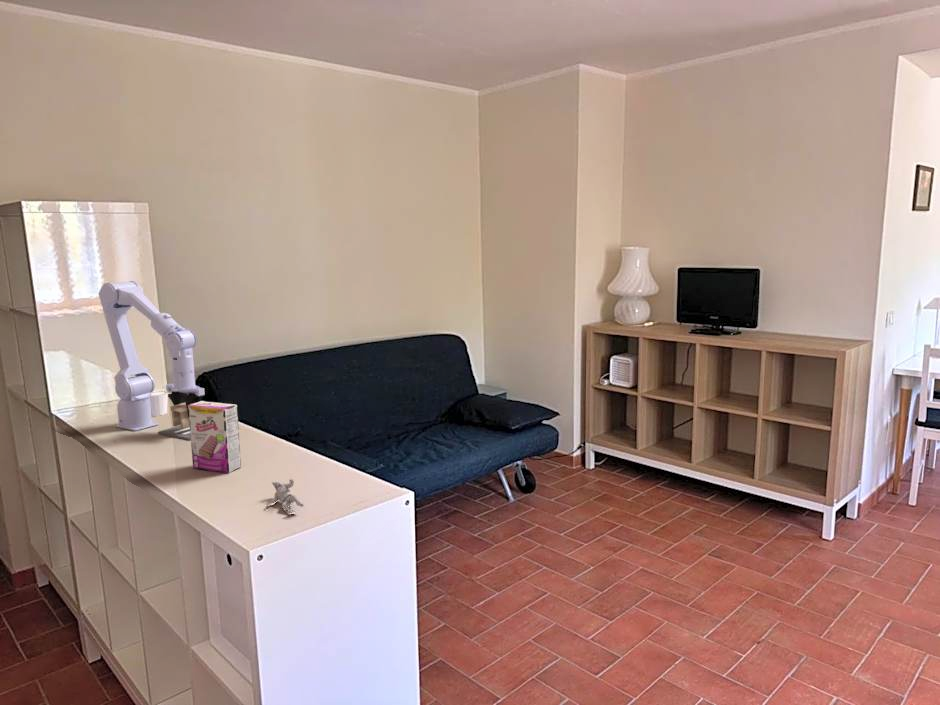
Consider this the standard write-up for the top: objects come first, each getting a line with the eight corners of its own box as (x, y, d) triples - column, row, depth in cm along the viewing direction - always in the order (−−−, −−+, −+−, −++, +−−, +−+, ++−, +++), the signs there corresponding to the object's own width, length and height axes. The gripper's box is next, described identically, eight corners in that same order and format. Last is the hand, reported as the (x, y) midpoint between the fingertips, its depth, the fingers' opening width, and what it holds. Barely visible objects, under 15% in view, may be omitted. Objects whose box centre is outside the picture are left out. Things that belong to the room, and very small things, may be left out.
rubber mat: (158, 433, 190) (157, 431, 190) (187, 425, 199) (187, 423, 199) (189, 440, 184) (189, 438, 184) (218, 431, 192) (218, 429, 192)
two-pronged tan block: (172, 426, 189) (170, 406, 188) (191, 420, 194) (189, 401, 193) (182, 428, 187) (180, 408, 186) (201, 422, 192) (199, 402, 191)
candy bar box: (191, 469, 160) (186, 404, 157) (206, 462, 165) (201, 400, 162) (228, 474, 157) (224, 408, 154) (242, 467, 161) (238, 403, 159)
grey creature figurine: (276, 524, 131) (252, 491, 139) (291, 532, 135) (267, 499, 142) (303, 495, 132) (278, 463, 140) (317, 503, 136) (292, 472, 144)
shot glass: (173, 411, 215) (171, 391, 214) (161, 417, 208) (160, 396, 207) (154, 411, 216) (152, 390, 215) (141, 416, 209) (139, 395, 208)
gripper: (155, 371, 188) (159, 417, 191) (188, 376, 181) (191, 423, 184) (176, 367, 194) (180, 411, 197) (209, 372, 187) (212, 417, 190)
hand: (187, 416), depth 191 cm, fingers closed on two-pronged tan block, 4 cm apart
